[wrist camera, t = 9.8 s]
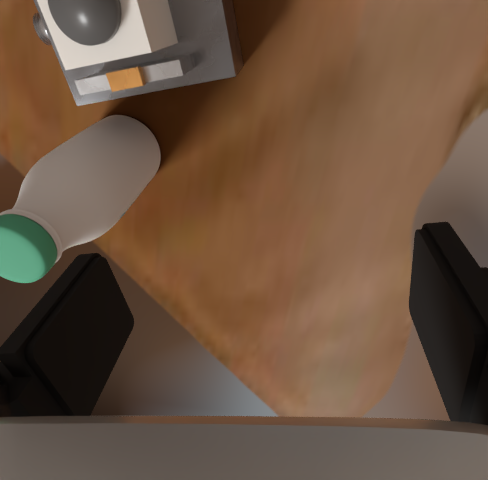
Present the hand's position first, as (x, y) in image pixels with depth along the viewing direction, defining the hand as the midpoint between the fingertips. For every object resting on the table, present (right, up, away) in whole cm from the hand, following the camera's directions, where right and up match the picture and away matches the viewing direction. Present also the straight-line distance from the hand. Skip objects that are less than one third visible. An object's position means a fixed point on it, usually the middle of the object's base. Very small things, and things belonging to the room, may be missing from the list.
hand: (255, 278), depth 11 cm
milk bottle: (-13, +11, +28) cm, 33 cm away
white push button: (-9, +18, +16) cm, 26 cm away
